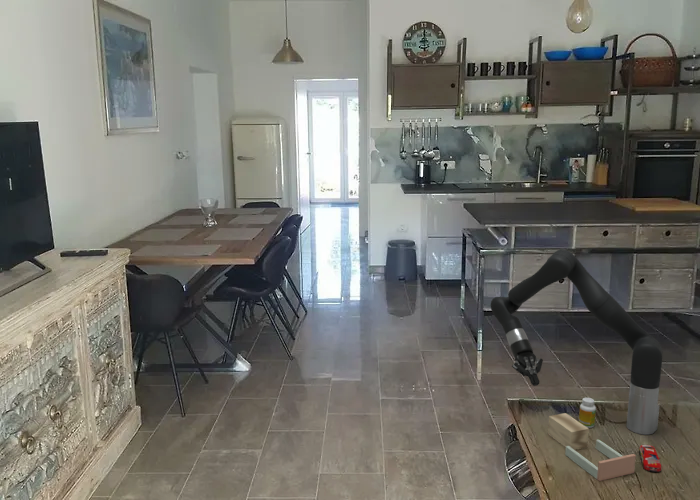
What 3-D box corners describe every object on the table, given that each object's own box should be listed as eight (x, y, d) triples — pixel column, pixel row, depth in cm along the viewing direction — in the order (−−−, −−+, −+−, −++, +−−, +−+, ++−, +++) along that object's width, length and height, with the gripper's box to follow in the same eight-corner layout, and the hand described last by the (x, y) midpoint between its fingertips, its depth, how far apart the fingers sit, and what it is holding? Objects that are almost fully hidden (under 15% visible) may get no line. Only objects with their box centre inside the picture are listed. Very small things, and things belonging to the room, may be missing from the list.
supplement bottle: (593, 429, 214) (594, 404, 212) (577, 425, 217) (579, 401, 215) (595, 423, 219) (597, 398, 217) (580, 419, 222) (582, 395, 220)
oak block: (564, 431, 214) (565, 413, 212) (587, 447, 203) (588, 428, 201) (547, 434, 211) (548, 416, 210) (570, 451, 200) (571, 432, 199)
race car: (662, 475, 186) (663, 463, 186) (643, 472, 188) (644, 460, 187) (655, 453, 199) (656, 442, 198) (637, 451, 200) (638, 440, 199)
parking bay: (598, 447, 202) (599, 431, 201) (634, 472, 187) (635, 455, 186) (565, 454, 198) (566, 438, 197) (599, 481, 183) (600, 463, 182)
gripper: (508, 340, 226) (525, 383, 217) (538, 336, 230) (556, 378, 221) (500, 349, 232) (516, 391, 223) (529, 345, 236) (546, 386, 227)
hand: (536, 384), depth 222 cm, fingers closed
